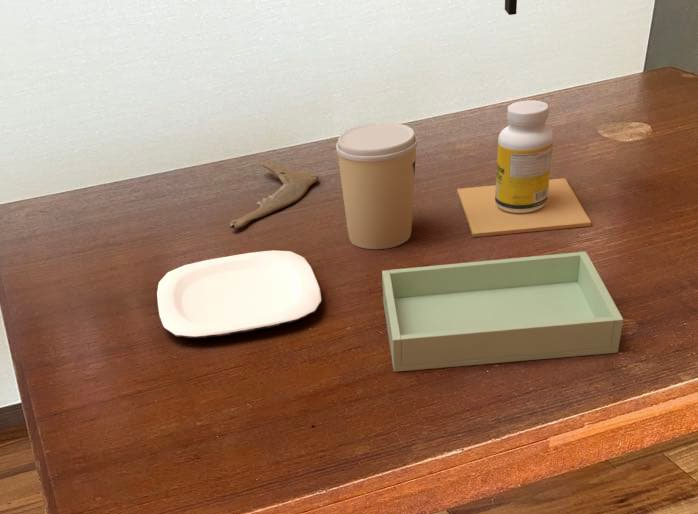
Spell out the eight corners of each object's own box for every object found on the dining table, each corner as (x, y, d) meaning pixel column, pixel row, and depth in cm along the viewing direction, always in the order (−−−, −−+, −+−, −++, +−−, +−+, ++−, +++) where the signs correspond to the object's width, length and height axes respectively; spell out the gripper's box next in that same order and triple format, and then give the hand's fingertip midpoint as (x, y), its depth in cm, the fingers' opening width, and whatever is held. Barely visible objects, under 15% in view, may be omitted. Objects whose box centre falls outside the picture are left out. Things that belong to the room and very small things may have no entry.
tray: (582, 282, 96) (586, 251, 94) (618, 352, 85) (623, 319, 83) (383, 300, 98) (381, 270, 95) (393, 372, 87) (392, 339, 84)
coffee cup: (433, 234, 108) (434, 133, 100) (373, 260, 105) (368, 156, 97) (385, 213, 114) (382, 115, 106) (327, 236, 111) (319, 137, 103)
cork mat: (564, 181, 116) (565, 177, 116) (590, 226, 106) (591, 222, 105) (457, 192, 117) (457, 188, 117) (472, 237, 107) (472, 233, 106)
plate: (332, 327, 95) (330, 312, 93) (164, 356, 94) (161, 342, 92) (303, 255, 108) (301, 242, 107) (156, 280, 107) (153, 267, 106)
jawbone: (323, 175, 128) (323, 160, 126) (297, 239, 113) (297, 223, 112) (262, 171, 129) (261, 157, 128) (228, 234, 115) (227, 219, 113)
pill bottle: (508, 191, 114) (514, 95, 107) (555, 198, 111) (565, 100, 104) (485, 210, 111) (490, 112, 103) (534, 218, 108) (542, 118, 100)
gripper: (725, -286, 82) (684, -20, 96) (453, -245, 84) (452, 10, 98) (757, -288, 76) (708, -5, 90) (464, -244, 78) (461, 27, 92)
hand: (575, 3), depth 94 cm, fingers open, 13 cm apart
